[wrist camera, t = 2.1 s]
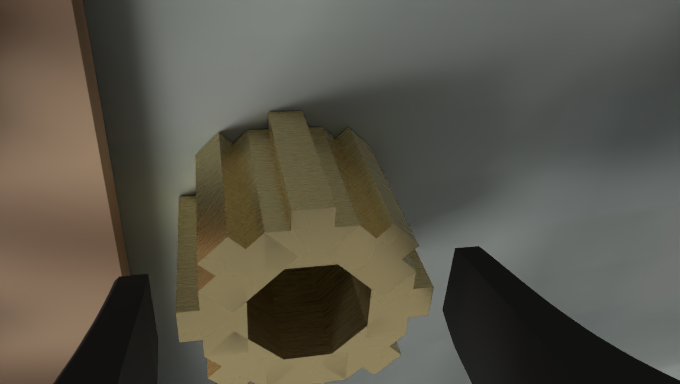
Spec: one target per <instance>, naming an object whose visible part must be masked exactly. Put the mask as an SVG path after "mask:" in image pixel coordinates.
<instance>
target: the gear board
mask: <svg viewBox="0 0 680 384" xmlns="http://www.w3.org/2000/svg"><path fill="white" fill-rule="evenodd" d="M120 276H130V270H129V264H128V259H127V253H126V247H125V241H124V236H123V230H122V224H121V218H120V212H119V207H118V201H117V195H116V189H115V183H114V178H113V172H112V166H111V160H110V154H109V149H108V143H107V137H106V131H105V125H104V120H103V114H102V108H101V102H100V96H99V91H98V85H97V79H96V73H95V67H94V62H93V56H92V50H91V44H90V38H89V33H88V27H87V21H86V15H85V10H84V4H83V0H0V384H53V383H54V382H55V380H56V379H57V377H58V376H59V374H60V373H61V372H62V370H63V369H64V367H65V366H66V364H67V363H68V361H69V360H70V359H71V357H72V356H73V354H74V353H75V351H76V350H77V348H78V346H79V345H80V343H81V342H82V340H83V338H84V337H85V335H86V333H87V332H88V330H89V328H90V327H91V325H92V324H93V322H94V320H95V318H96V316H97V315H98V313H99V311H100V309H101V307H102V306H103V304H104V302H105V300H106V298H107V296H108V294H109V292H110V290H111V288H112V285H113V283H114V281H115V280H116V279H117V278H118V277H120Z"/></svg>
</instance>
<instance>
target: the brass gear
mask: <svg viewBox="0 0 680 384" xmlns="http://www.w3.org/2000/svg"><path fill="white" fill-rule="evenodd" d="M195 158H196V196H183V197H179V214H178V251H177V287H176V319H177V327H178V335H179V343H180V342H189V341H198V340H203V349H204V357H205V358H207V374H208V379H210V380H212V381H214V382H216V383H218V384H248V383H249V382H250V381H251V382H253V383H255V384H325V382H330V381H338V380H346V379H347V378H348V377H350V376H351V375H352V374H354V373H355V372H356V371H358V370H359V369H360V368H364V369H366V370H367V371H369V372H370V373H372V374H374V375H375V374H376V373H378V372H379V371H380V370H382V369H383V368H384V367H386V366H387V365H388V364H390V363H391V362H392V361H394V360H395V359H396V358H398V357H399V356H400V355H401V353H400V350H399V347H398V345H397V342H396V341H397V340H398V339H399V338H401V337H402V336H403V335H405V334H406V330H407V324H408V317H417V316H427V315H429V309H430V304H431V299H432V293H433V288H434V287H433V285H432V283H431V281H430V279H429V277H428V275H427V272H426V270H425V268H424V266H423V264H422V262H421V260H420V258H419V256H418V254H417V252H416V250H415V248H416V247H418V246H419V245H418V243H417V241H416V239H415V237H414V235H413V233H412V231H411V229H410V227H409V225H408V223H407V221H406V219H405V217H404V215H403V213H402V211H401V209H400V207H399V205H398V203H397V201H396V199H395V197H394V195H393V192H392V190H391V188H390V186H389V184H388V182H387V180H386V178H385V176H384V174H383V172H382V170H381V168H380V166H379V164H378V162H377V160H376V158H375V156H374V154H373V152H372V150H371V148H370V146H369V145H368V144H366V143H365V142H364V141H363V140H362V139H361V138H360V137H359V136H358V135H357V134H356V133H355V132H354V131H353V130H352V129H350V128H349V127H348V128H347V129H346V130H345V131H343V132H342V133H341V134H340V135H339V136H338V137H337V138H336V139H335V138H334V137H332V136H331V135H330V134H329V133H328V132H327V131H326V130H325V129H324V128H323V127H308V126H307V123H306V120H305V117H304V114H303V111H282V112H268V129H262V130H247V131H246V132H245V133H244V134H243V135H242V136H241V137H240V138H239V139H238V140H236V141H235V142H234V143H232V142H230V141H229V140H228V139H226V138H225V137H224V136H223V135H221V134H220V133H218V134H217V135H216V136H215V137H213V138H212V139H211V140H210V141H209V142H208V143H207V144H206V145H205V146H204V147H203V148H202V149H201V150H200V151H199V152H198V153H197V154H196V155H195Z"/></svg>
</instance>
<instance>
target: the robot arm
mask: <svg viewBox="0 0 680 384" xmlns="http://www.w3.org/2000/svg"><path fill="white" fill-rule="evenodd" d="M443 313H444V316H445V319H446V322H447V326H448V329H449V332H450V335H451V338H452V341H453V343H454V346H455V349H456V351H457V353H458V355H459V357H460V359H461V361H462V364H463V366H464V368H465V370H466V372H467V374H468V376H469V378H470V380H471V382H472V384H680V380H677V379H675V378H673V377H671V376H669V375H667V374H665V373H663V372H661V371H659V370H657V369H655V368H653V367H651V366H649V365H647V364H645V363H643V362H641V361H639V360H637V359H636V358H634V357H632V356H630V355H628V354H627V353H625V352H623V351H621V350H620V349H618V348H616V347H615V346H613V345H611V344H610V343H608V342H606V341H605V340H603V339H601V338H600V337H598V336H596V335H595V334H593V333H592V332H590V331H589V330H587V329H586V328H584V327H583V326H581V325H580V324H578V323H577V322H575V321H574V320H573V319H571V318H570V317H568V316H567V315H565V314H564V313H563V312H561V311H560V310H558V309H557V308H556V307H554V306H553V305H552V304H550V303H549V302H548V301H546V300H545V299H544V298H542V297H541V296H540V295H539V294H537V293H536V292H535V291H534V290H532V289H531V288H530V287H528V286H527V285H526V284H525V283H523V282H522V281H521V280H520V279H519V278H517V277H516V276H515V275H514V274H512V273H511V272H510V271H509V270H508V269H506V268H505V267H504V266H503V265H501V264H500V263H499V262H498V261H497V260H495V259H494V258H493V257H492V256H490V255H489V254H488V253H487V252H485V251H484V250H483V249H482V248H480V247H479V246H476V247H464V248H455V252H454V257H453V261H452V266H451V271H450V276H449V281H448V286H447V291H446V295H445V300H444V305H443ZM157 365H158V337H157V330H156V324H155V317H154V311H153V304H152V298H151V291H150V284H149V278H148V274H144V275H132V276H120V277H118V278H117V279H116V280H115V281H114V283H113V285H112V288H111V290H110V292H109V294H108V296H107V298H106V300H105V302H104V304H103V306H102V307H101V309H100V311H99V313H98V315H97V316H96V318H95V320H94V322H93V324H92V325H91V327H90V328H89V330H88V332H87V333H86V335H85V337H84V338H83V340H82V342H81V343H80V345H79V346H78V348H77V350H76V351H75V353H74V354H73V356H72V357H71V359H70V360H69V361H68V363H67V364H66V366H65V367H64V369H63V370H62V372H61V373H60V374H59V376H58V377H57V379H56V380H55V382H54V383H53V384H157Z"/></svg>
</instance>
